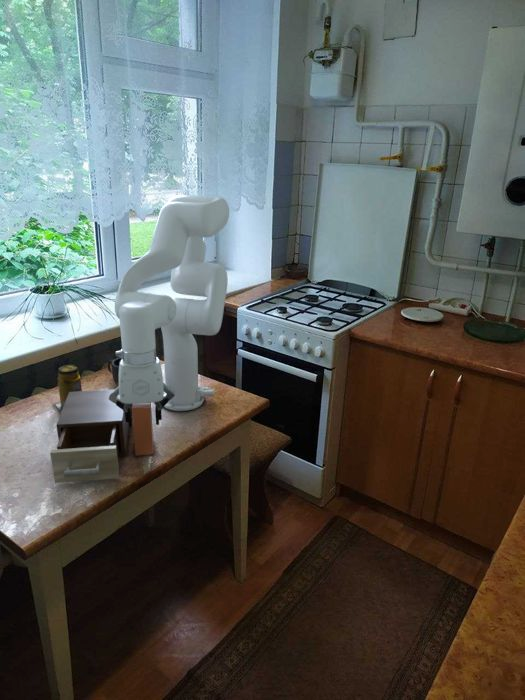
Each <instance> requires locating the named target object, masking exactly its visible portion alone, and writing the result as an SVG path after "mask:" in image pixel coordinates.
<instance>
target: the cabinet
mask: <svg viewBox="0 0 525 700" xmlns="http://www.w3.org/2000/svg"><path fill="white" fill-rule="evenodd" d="M114 390H115V389H102V390H101V389H99V390H98V389H97V390H82V391H78V392H69V394H68V396H67V399H66V401H65V404H64V406H63V409H62V411H60V414H59V417H58V419H57V422H56V425H55V426H56V432H57V433H56V434H57V439H58V441H59V439H60V437H61V434H62V431H63V428H64V427H80V426H96V425H112V424H119V433H120V448H119V454H118V457H123V456H126V454H127V453H126V452H127V447H128V439H129V438H128V437H129V431H130V430H129V429H130V427H129V425H128V422H126V421H125V412H123V410H122V409H121V408H119V407H118V406H117V405H116V404H114V403H113V402H112V401H110V400H109V396H110V394H111V393H112V392H113V391H114ZM117 397H118V398H119V399H120V397H119V395H118V396H117Z"/></svg>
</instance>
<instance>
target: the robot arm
mask: <svg viewBox="0 0 525 700" xmlns="http://www.w3.org/2000/svg"><path fill="white" fill-rule="evenodd" d="M158 214H159V215H158V217H157V221H156V224H155V228H154V232H153V234H152V238H151V240H150V245H149V250H148V251H147V252H146V253H145V254H143V255H142V256H141V257H139V258H138V259H137V260H136V261H135V262H133V264H131V265H130V266H129V267H128V269H127V270H126V271H125V272H124V274H123V275H122V277H121V280H120V282H119V286H118V289H117V292H116V296H115V301H114V312H115V316H116V317H117V319H119V329H120V340H121V349H120V350H117V351H115V357H116V358H119V357H121V359H122V360H121V361H120V365H119V384H118V386H117V387H115V389H113V390H114V391H113V392H112V393H111V394H110V396H109V400H110V401H112V402H113V403H114V404H116V405H117V406H118V407H119V408H121V409H122V410H123V412H125V421H126V422H128V425H129V428H132V427H133V417H132V409H131V407H130V404H137V403H151V404H152V403H153V404H154V405H155V407H154V408H155V409H154V415H155V416H154V417H155V425H156V426H159V425H160V421H162V420H163V413H162V410H163V408H165V409H167V410H170V411H175V412H186V411H192V410H195V409H198V408H199V407H201V406H202V405H203V404H204V400H205V397H215V390H214V389H210V386H205V387H202V386H200V382H199V357H198V356H199V355H198V353H199V352H198V351H199V349H198V348H199V347H198V344H197V340H196V338H195V337H194V336H193V335H199V336H216V335H217V334H218V333H219V332H220V330H221V327H222V323H223V319H224V318H223V317H224V311H225V304H226V299H227V298H226V297H227V291H228V279H229V278H228V273H227V272H228V271H227V269H226V268H225V267H224V266H223V265H222V264H220V263H216V262H207V261H206V260H205V259H206V252H207V245H206V243H205V241H204V239H203V238H211V237H213V236H215V235H216V234H219V232H220V231H222V230H223V229H224V228H225V227H226V225H227V223H228V221H229V217H230V206H229V204H228V201H227V200H226V199H225V198H224V197H221V196H212V195H211V196H210V195H196V194H195V195H194V194H180V195H174V196H172V197H170V198H169V200H168V202H167V203H165V204H164V205H162V207H161V208H160V211H159V213H158ZM205 261H206V262H205ZM169 271H171V272H170V288H171V290H172V291H174V292H175V293H176V294H179V295H182V296H183V295H184V296H192V297H203V298H206V300H204V299H194V298H186V297H171V296H170V295H166V294H164V293H163V294H162V293H151V292H143V291H139V288H140V287H141V286H142V284H144V283H145V282H146V281H147V280H149V279H151V278H153V277H155V276H158V275H161V274H165V273H167V272H169ZM158 329H161V335H162V340H163V341H162V342H163V361H164V363H163V364H164V365H163V366H164V375H163V369H162V365H161V362H160V359H159V357H158V356H157V346H156V345H157V344H156V330H158ZM163 376H164V377H163ZM118 395H119V397H120V399H119V398H118V397H117V396H118Z"/></svg>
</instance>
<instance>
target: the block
mask: <svg viewBox="0 0 525 700" xmlns="http://www.w3.org/2000/svg"><path fill="white" fill-rule="evenodd" d="M152 411H153V410H152V403H137V404H132V427H133V428H132V429H133V441H134V442H133V444H134V453H135V456H147V455H150V456H151V455H154V430H153V413H152Z"/></svg>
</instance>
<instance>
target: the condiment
mask: <svg viewBox="0 0 525 700" xmlns="http://www.w3.org/2000/svg"><path fill="white" fill-rule="evenodd" d="M57 375H58V377H57V386H58V394H59V401H60V402H58V403H55V406H56V408H57V409H58V410H59V411H60V412H61V411H62V409H63V406H64V404H65V401H66V399H67V396H68V394H69V392H78V391H83V388H82V379H81V375H80V374H79V368H78V366H76V365H74V364H65V365H62V366H60V367H59V368H58V369H57Z"/></svg>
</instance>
